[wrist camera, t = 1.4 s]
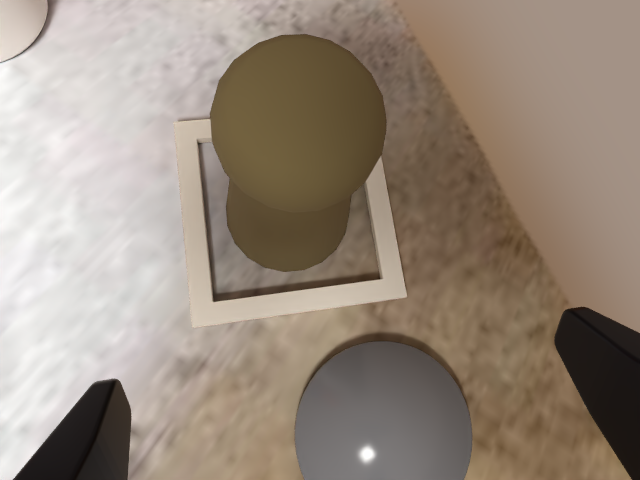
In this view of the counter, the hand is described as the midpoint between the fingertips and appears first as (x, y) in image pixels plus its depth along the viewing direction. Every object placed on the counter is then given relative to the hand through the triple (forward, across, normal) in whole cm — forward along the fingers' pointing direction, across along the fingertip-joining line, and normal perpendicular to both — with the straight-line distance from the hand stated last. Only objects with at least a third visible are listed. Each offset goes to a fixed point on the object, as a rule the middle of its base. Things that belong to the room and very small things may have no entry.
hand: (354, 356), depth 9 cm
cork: (+14, 0, +4) cm, 14 cm away
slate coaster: (+6, -3, +12) cm, 14 cm away
